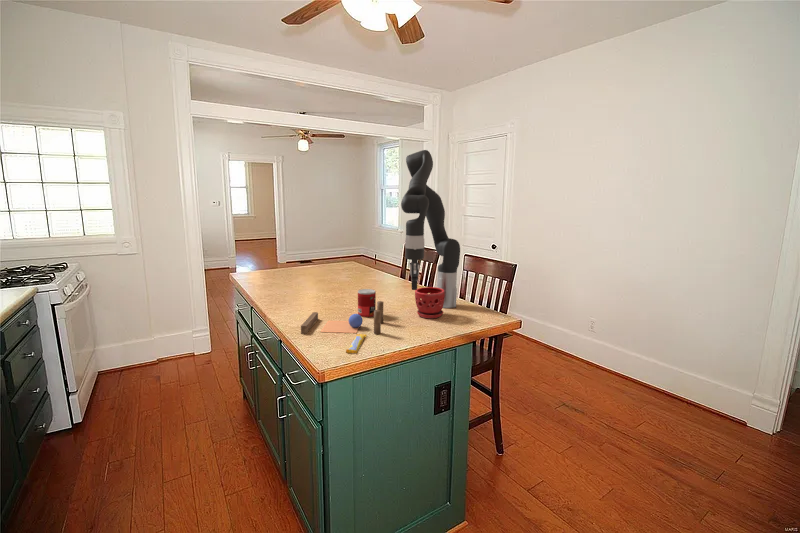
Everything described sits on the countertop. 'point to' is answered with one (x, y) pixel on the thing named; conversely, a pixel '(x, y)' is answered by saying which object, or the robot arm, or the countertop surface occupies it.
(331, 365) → the countertop surface
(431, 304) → the plant pot
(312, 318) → the strip
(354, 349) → the candy bar
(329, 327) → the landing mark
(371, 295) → the canned food
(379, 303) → the post
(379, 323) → the post
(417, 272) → the robot arm
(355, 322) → the ball
